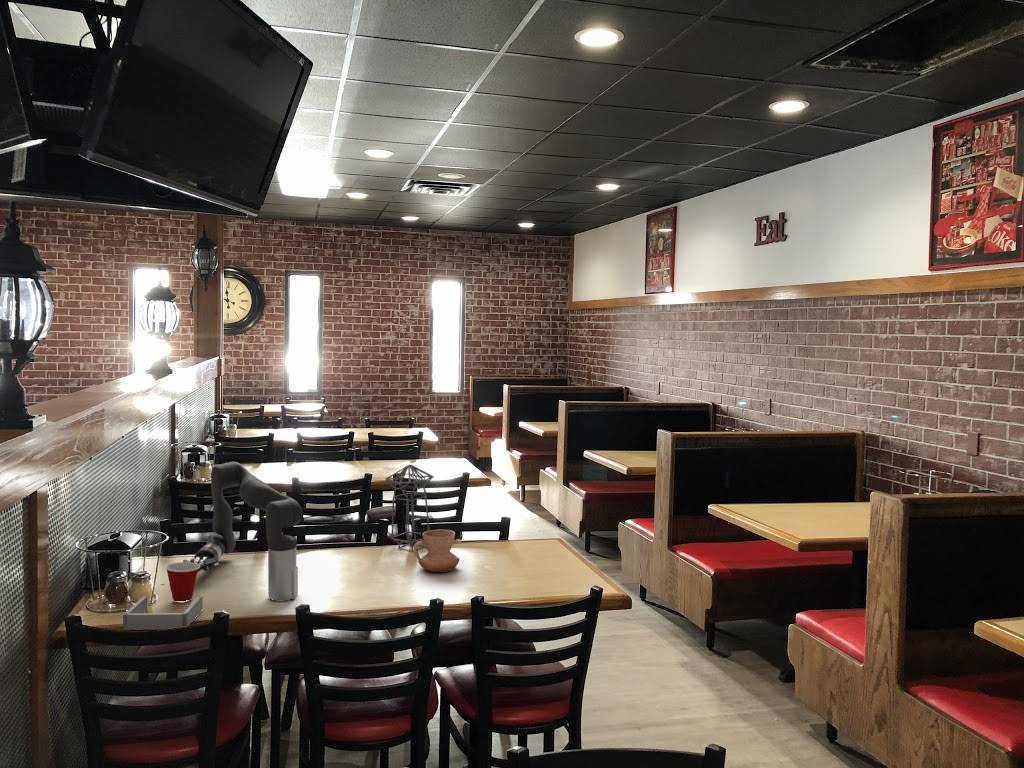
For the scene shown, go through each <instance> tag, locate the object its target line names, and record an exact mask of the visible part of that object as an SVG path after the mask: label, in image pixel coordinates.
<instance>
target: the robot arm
mask: <svg viewBox="0 0 1024 768" xmlns="http://www.w3.org/2000/svg"><path fill="white" fill-rule="evenodd" d="M210 486H211V496H212V498H211V499H212V505H213V506H212V508H213V516H212V531H213V532H214V533H211V534H209V535H208V537H207V540H206V544H205V545H204V546H202V547H201V549H199V550H198V551H196V553H195V555H194V557H193V558H191V559H190V560H189V559H188V560H187V559H183V561H182V562H190V563H196V564H199V565H200V568H199V569H198V572H197V574H198V573H199V572H201V571H209V570H210V571H211V570H213V569H216V568H219V567H220V562H219V561H220V558H221V557H223V555H224V554H225V555H229V554H231V553H232V552H233V551H234V549H236V548H235V547H236V538H235V535H234V531H233V518H234V517H233V514H234V513H233V510H232V508H231V505H230V504H229V502H227V500H226V499H225V497H224V495H223V492H224V491H223V490H225V489H229V488H234V487H239V496H240V498H241V501H243V502H244V503H246V504H247V505H248V506H250V508H251V507H252V508H254V509H256V510H257V509H258V510H259V511H265V530H266V542H267V570H268V571H267V572H268V574H267V581H268V585H267V587H268V588H267V591H268V592H267V595H268V597H269V598H270V599H273V600H288V601H291V600H290V599H295V600H296V598H297V596H298V594H299V575H298V574H299V571H298V570H299V567H298V566H297V539H296V538H295V537H294V536H292V535H286V534H283V529H285V528H290V527H294V526H298V524H299V523H300V522H301V521H302V519H303V517H304V516H303V515H304V513H303V509H302V506H301V505H300V503H299V502H298V501H297V500H296V499H294V498H292V497H290V496H288V495H286V494H284V493H282V492H279V491H277V490H276V489H274V488H273V487H271V486H270V485H268V484H267V483H266V482H264V481H263V480H261V479H259V478H258V477H256V476H255V475H253V474H252V473H251V472H250V471H248V469H246V467H244V465H242V464H241V463H239V462H237V461H230V462H225V463H221V464H220V463H219V464H217V465H214V466H213V467H212V468H211V470H210ZM268 597H267V598H268ZM269 598H268V599H269ZM270 599H269V600H270Z"/></svg>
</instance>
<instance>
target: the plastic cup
mask: <svg viewBox="0 0 1024 768" xmlns="http://www.w3.org/2000/svg"><path fill="white" fill-rule="evenodd" d="M164 568H165V570H166V573H167V577H168V582H169V588H170V592H171V596H172V601H173V600H174V601H186V600H190V599H192V600H193V596H194V591H195V586H196V580H197V575H198V573H199V572H198V569H199V568H200V565H199V564H196V563H190V562H183V561H182V562H173V563H169V564H166V565H165V567H164ZM197 572H198V573H197ZM174 601H173V602H174Z"/></svg>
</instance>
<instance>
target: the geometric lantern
mask: <svg viewBox="0 0 1024 768" xmlns="http://www.w3.org/2000/svg"><path fill="white" fill-rule="evenodd" d="M407 472H408V473H407ZM421 473H422V474H424V475H422V474H421ZM395 475H396V476H395ZM406 475H408V481H404V479H405V476H406ZM394 476H395V477H394ZM411 478H412V479H411ZM434 478H435V476H434V475H432V474H430V473H428V472H426V471H424V470H423V469H421V468H419V467H417V466H415V465H413V464H407V465H406V466H404V467H403V468H401V469H399V470H397V471H396V472H394V473H392V474H391V475H389V476H387V477H386V478H385V479H384V480H385V482H386V483H388V484H389V485H390V486H391V487H392V488H393V489H394V492H393V497H392V504H391V505H392V509H391V510H392V511H391V512H392V514H391V515H392V518H391V519H392V520H391V538H390V539H391V540H392V541H394V542H396V543H397V545H398V550H404V551H408V550H409V552H412V551H413V552H414V545H415V544H416V543H417V542H419V541H422V542H424V539H423V538H420V539H417V535H416V534H418V535H421V536H423V533H424V532H416V522H415V510H414V509H415V508H414V501H417V500H421V499H424V501H425V513H426V523H427V526H426V527H427V531H430V530H431V529H430V524H429V523H430V520H429V514H428V513H429V511H428V509H429V508H428V497H427V496H428V494H427V490H426V486H427V484H428V483H430V481H431V480H432V479H434ZM398 480H399V481H398ZM412 480H413V481H412ZM411 481H412V482H411ZM402 484H404V485H402ZM410 484H413V485H414V487H413V490H412V491H411V492H407V490H406V488H405V487H407V486H408V485H410ZM397 486H399V487H397ZM416 488H417V489H416ZM420 489H423V493H417V492H418V491H419V490H420ZM397 490H401V491H402V494H398V495H396V491H397ZM415 490H416V491H415ZM414 491H415V492H414ZM409 495H410V499H409ZM416 495H418V496H421V497H418V498H414V497H415V496H416ZM399 496H405V498H406V499H405V498H400V497H399ZM396 500H402V501H406V507H405V511H406V512H405V513H406V514H405V532H403V533H400V534H396V535H394V532H395V531H394V525H395V524H394V522H395V519H394V518H395V517H394V515H395V501H396ZM409 502H410V503H409ZM409 505H410V507H409ZM409 509H410V510H409ZM410 511H411V513H410ZM410 514H411V531H410ZM421 533H422V534H421ZM405 534H406V537H407V539H406V540H403V539H397V538H396V537H400V536H403V535H405ZM410 534H411V535H410ZM413 535H414V539H412V537H413ZM403 543H406V544H403ZM405 546H406V547H411V549H406V548H403V547H405ZM418 547H419V548H417V551H419V550H422V549H424V548H425V547H424V546H422V545H419V546H418ZM421 548H422V549H421ZM418 549H419V550H418Z"/></svg>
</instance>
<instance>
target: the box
mask: <svg viewBox="0 0 1024 768" xmlns="http://www.w3.org/2000/svg"><path fill="white" fill-rule="evenodd" d="M203 600H204V599H203V595H198V596H196V598H195V599H194V600H193V602H192V603H190V605H188V607H187V608H186V609H185V610H184V612H156V613H155V612H150V613H149V612H148V596H147V595H146V596H145V595H143V596H142V597H141V598H139V600H138V601H136V603H134V604H133V605H132V606H131V607H130V608H129V609H128V610H127V611H125V613H123V614H122V630H123V629H134V630H142V629H166V628H173V627H182V626H188V625H190V623H192V622H193V621H194V619H195V617H196V616H197V615H198V614H199V613H200V612H201V610H202V609H203V607H204V605H203V603H204V602H203ZM146 611H147V612H146ZM144 612H146V613H144ZM201 613H202V612H201ZM194 622H195V621H194ZM194 622H193V623H194ZM193 623H192V624H193Z"/></svg>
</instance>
